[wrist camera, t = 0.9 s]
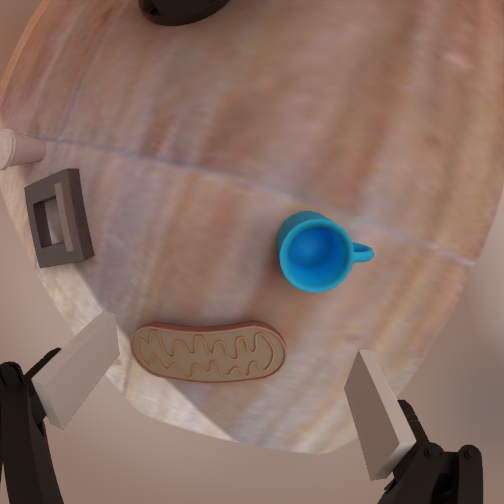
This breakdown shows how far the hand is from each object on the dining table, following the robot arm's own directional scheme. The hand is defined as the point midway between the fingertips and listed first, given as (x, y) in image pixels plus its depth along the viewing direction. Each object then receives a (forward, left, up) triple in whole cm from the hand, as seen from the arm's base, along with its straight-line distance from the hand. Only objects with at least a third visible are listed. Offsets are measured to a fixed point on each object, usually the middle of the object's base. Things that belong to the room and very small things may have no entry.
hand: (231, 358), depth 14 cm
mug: (+1, +9, -26) cm, 27 cm away
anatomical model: (+13, -9, -26) cm, 30 cm away
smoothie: (-22, -34, -26) cm, 48 cm away
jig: (-9, -31, -25) cm, 41 cm away
